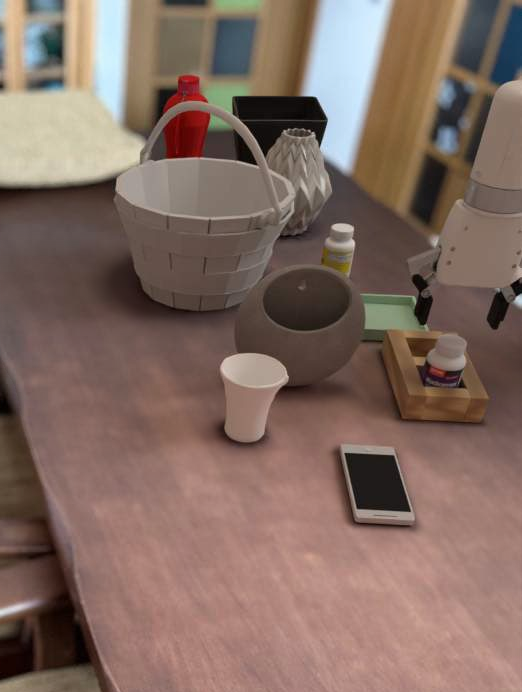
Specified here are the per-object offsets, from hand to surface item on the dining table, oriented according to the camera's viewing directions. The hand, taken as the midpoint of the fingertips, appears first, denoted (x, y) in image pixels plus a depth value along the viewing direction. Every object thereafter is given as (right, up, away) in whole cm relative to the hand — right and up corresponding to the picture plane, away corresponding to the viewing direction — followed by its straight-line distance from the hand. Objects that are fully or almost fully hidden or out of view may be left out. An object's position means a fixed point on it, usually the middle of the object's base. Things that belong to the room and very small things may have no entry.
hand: (455, 323), depth 113 cm
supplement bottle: (-7, +18, +39) cm, 43 cm away
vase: (-12, +34, +57) cm, 68 cm away
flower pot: (-12, +51, +76) cm, 92 cm away
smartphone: (-14, -23, -7) cm, 28 cm away
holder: (0, -6, +12) cm, 13 cm away
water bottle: (-33, +43, +66) cm, 86 cm away
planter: (-21, -7, +11) cm, 24 cm away
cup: (-29, -15, +2) cm, 32 cm away
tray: (-4, +7, +27) cm, 28 cm away
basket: (-32, +16, +36) cm, 51 cm away
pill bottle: (0, -9, +8) cm, 13 cm away
